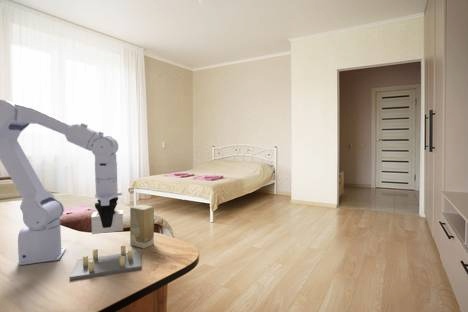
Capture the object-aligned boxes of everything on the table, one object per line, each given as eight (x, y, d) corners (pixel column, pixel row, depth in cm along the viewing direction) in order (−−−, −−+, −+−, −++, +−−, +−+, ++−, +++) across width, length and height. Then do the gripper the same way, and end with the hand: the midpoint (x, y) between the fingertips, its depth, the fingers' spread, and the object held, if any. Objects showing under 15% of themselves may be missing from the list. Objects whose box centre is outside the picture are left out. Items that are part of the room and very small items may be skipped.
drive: (91, 234, 76) (91, 216, 75) (93, 229, 80) (93, 212, 79) (122, 230, 78) (122, 213, 78) (123, 226, 83) (122, 209, 82)
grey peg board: (69, 280, 64) (69, 266, 64) (77, 262, 73) (77, 250, 73) (141, 269, 70) (140, 256, 69) (140, 253, 79) (140, 242, 79)
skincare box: (129, 245, 85) (128, 206, 85) (140, 240, 89) (139, 203, 88) (144, 249, 82) (143, 209, 82) (155, 244, 86) (154, 206, 85)
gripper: (120, 181, 73) (122, 230, 74) (122, 174, 86) (123, 216, 87) (91, 182, 70) (93, 234, 71) (97, 175, 84) (98, 218, 85)
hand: (107, 224), depth 79 cm, fingers closed on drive, 4 cm apart
